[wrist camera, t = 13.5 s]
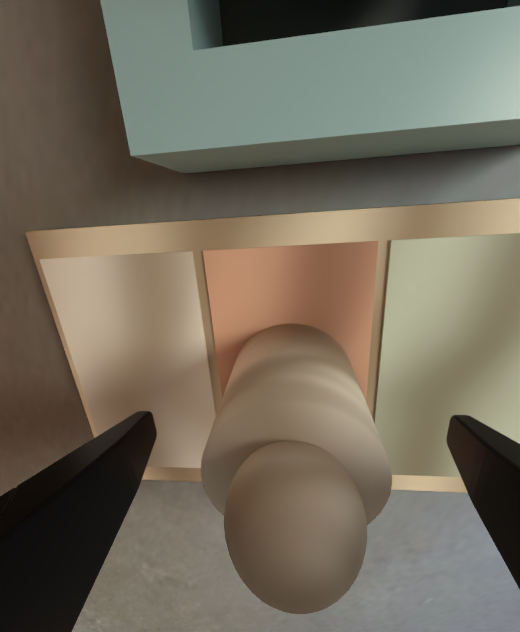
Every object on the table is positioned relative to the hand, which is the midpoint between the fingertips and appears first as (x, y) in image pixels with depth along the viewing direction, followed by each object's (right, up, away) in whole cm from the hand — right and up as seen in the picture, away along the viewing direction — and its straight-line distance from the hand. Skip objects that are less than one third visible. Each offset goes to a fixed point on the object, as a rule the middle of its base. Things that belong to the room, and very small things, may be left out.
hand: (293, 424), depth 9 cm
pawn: (0, +1, +3) cm, 3 cm away
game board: (+3, +1, +3) cm, 5 cm away
